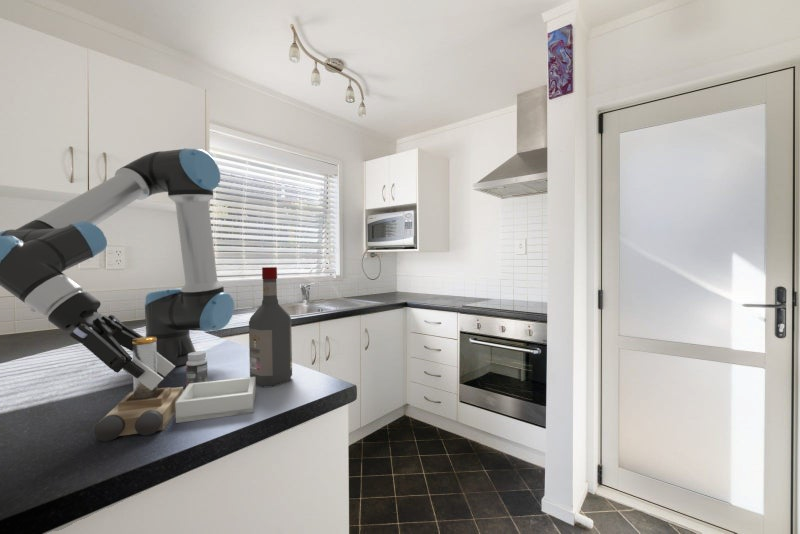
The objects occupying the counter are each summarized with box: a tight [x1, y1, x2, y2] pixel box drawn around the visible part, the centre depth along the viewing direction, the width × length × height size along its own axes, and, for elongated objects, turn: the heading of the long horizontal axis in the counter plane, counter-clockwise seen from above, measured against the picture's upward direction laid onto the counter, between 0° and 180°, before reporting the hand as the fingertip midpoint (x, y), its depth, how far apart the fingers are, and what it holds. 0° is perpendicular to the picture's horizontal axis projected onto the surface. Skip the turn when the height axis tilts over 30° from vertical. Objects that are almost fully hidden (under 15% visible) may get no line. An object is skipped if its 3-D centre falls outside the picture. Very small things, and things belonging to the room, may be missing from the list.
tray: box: [175, 376, 257, 424], centre depth 79 cm, size 12×14×4 cm
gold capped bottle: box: [132, 336, 159, 400], centre depth 74 cm, size 4×4×13 cm
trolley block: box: [93, 386, 184, 442], centre depth 74 cm, size 18×10×4 cm, turn 19°
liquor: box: [248, 266, 293, 388], centre depth 96 cm, size 9×9×30 cm
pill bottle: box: [185, 350, 209, 387], centre depth 93 cm, size 5×5×8 cm
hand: (164, 377), depth 75 cm, fingers open, 8 cm apart
